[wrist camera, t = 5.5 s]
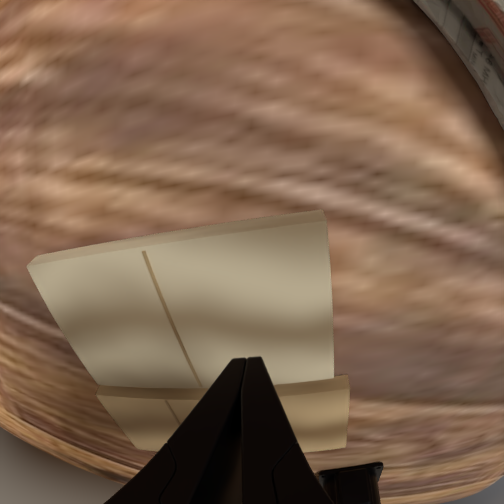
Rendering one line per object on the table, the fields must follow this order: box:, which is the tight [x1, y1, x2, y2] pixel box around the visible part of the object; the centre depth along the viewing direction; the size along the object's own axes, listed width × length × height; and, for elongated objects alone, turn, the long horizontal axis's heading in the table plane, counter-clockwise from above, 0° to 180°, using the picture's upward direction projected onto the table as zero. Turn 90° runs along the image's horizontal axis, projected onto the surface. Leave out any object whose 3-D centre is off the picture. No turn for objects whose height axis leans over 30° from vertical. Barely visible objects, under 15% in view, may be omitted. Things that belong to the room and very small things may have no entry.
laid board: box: [95, 375, 350, 452], centre depth 21 cm, size 8×18×1 cm, turn 100°
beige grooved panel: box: [27, 209, 334, 388], centre depth 17 cm, size 10×16×1 cm, turn 100°
